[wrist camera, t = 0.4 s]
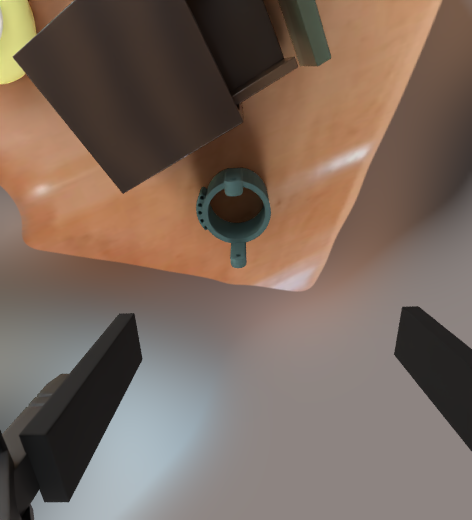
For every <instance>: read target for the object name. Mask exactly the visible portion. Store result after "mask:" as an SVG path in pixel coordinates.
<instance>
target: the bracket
mask: <svg viewBox="0 0 472 520" xmlns="http://www.w3.org/2000/svg"><path fill="white" fill-rule="evenodd" d="M243 187H245V188H248V189H250V190H252V191H254V192H255V193H256V194H257V195H258V196H259V197H260V198H261V199H262V201H263V203H264V205H263V208H262V209H261V211H260V212H259V213H258V215H257V216H255V217H254V218H253V219H251V220H249V221H246V222H242V223H232V222H228V221H225V220H223V219H222V218H220V217H219V216H218V215H216V213H215V212H214V211H213V209H212V207H211V205H210V201H211V199H212V198H213V196H215V195H216V194H217V193H218V192H219V191H221V190H222V189H225V194H226V195H227V196H239V195H241V194H242V193H243ZM196 211H197V217H198V220H199V222H200V224H201V225H202V227H203V228H204V229H205V230H207V229H208V230H209V231H210V232H211V233H212V234H213V235H214V236H215V237H217V238H218V239H220V240H222V241H225V242H229V243H231V256H230V259H231V265H232V267H234V268H242V267H244V266H245V265H246V242H248V241H251V240H253V239H255V238H257V237H258V236H260V235H261V234H262V233H263V232H264V230H265V229H266V227H267V226H268V224H269V221H270V216H271V208H270V203H269V198H268V194H267V189H266V186H265V184H264V182H263V180H262V179H261V178H260V177H259V176H258V175H257V174H256V173H254V172H253V171H251V170H249V169H246V168H228V169H225V170H223V171H221V172H219V173H218V174H217V175H216V176H215V177H214V178H213V179H212V180H211V182H210V184H209V186H208V189H207V188H205V187H204V186H203V187H202V188H201V190H200V193H199V196H198V200H197V204H196Z"/></svg>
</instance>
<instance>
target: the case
mask: <svg viewBox="0 0 472 520" xmlns="http://www.w3.org/2000/svg"><path fill="white" fill-rule="evenodd" d="M13 58H14V60H15V61H16V62H17V63H18V65H19V66H20V67H21V68H22V70H23V71H24V72H25V73H26V74H27V76H28V77H29V78H30V79H31V81H32V82H33V83H34V84H35V86H36V87H37V88H38V89H39V91H40V92H41V93H42V94H43V96H44V97H45V98H46V99H47V100H48V102H49V103H50V104H51V105H52V107H53V108H54V109H55V110H56V112H57V113H58V114H59V115H60V117H61V118H62V119H63V120H64V121H65V123H66V124H67V125H68V126H69V128H70V129H71V130H72V131H73V133H74V134H75V135H76V136H77V138H78V139H79V140H80V141H81V142H82V144H83V145H84V146H85V147H86V149H87V150H88V151H89V152H90V154H91V155H92V156H93V157H94V159H95V160H96V161H97V162H98V163H99V165H100V166H101V167H102V168H103V170H104V171H105V172H106V173H107V175H108V176H109V177H110V178H111V180H112V181H113V182H114V183H115V185H116V186H117V187H118V188H119V189H120V191H121V192H122V193H123V194H124V193H125V192H127V191H129V190H130V189H132V188H134V187H135V186H137V185H139V184H140V183H142V182H144V181H145V180H147V179H149V178H150V177H152V176H154V175H155V174H157V173H159V172H161V171H162V170H164V169H166V168H167V167H169V166H171V165H172V164H174V163H176V162H177V161H179V160H181V159H182V158H184V157H186V156H187V155H189V154H191V153H192V152H194V151H196V150H197V149H199V148H201V147H202V146H204V145H206V144H208V143H209V142H211V141H213V140H214V139H216V138H218V137H219V136H221V135H223V134H224V133H226V132H228V131H229V130H231V129H233V128H234V127H236V126H238V125H239V124H241V123H243V107H242V105H241V103H240V104H238V105H236V104H235V101H234V99H233V97H232V95H231V93H230V91H229V89H228V87H227V85H226V83H225V81H224V79H223V76H222V74H221V72H220V70H219V68H218V66H217V64H216V62H215V60H214V58H213V56H212V54H211V51H210V49H209V47H208V45H207V43H206V41H205V39H204V37H203V35H202V33H201V31H200V29H199V26H198V24H197V22H196V20H195V18H194V16H193V14H192V12H191V10H190V8H189V6H188V4H187V1H186V0H74V1H73V2H72V3H71V4H70V5H69V6H67V7H66V8H65V9H64V10H63V11H62V12H61V13H60V14H59V15H58V16H56V17H55V18H54V19H53V20H52V21H51V22H50V23H49V24H48V25H47V26H46V27H44V28H43V29H42V30H41V31H40V32H39V33H38V34H37V35H36V36H35V37H33V38H32V39H31V40H30V41H29V42H28V43H27V44H26V45H25V46H24V47H22V48H21V49H20V50H19V51H18V52H17V53H16V54H15V55H14V56H13Z"/></svg>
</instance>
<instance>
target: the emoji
mask: <svg viewBox="0 0 472 520" xmlns="http://www.w3.org/2000/svg"><path fill="white" fill-rule="evenodd" d="M36 35H37V32H36V25H35V21H34V17H33V13H32V10H31V7H30V5H29V2H28V0H0V84H8V83H11V82H14V81H16V80H18V79H19V78H21V77H23V76H24V75H25V74H26V73H25V72H24V71H23V70H22V68H21V67H20V66H19V65H18V63H17V62H16V61H15V60H14V58H13V56H14V55H15V54H16V53H17V52H18V51H19V50H20V49H21V48H22V47H24V46H25V45H26V44H27V43H28V42H29V41H30V40H31V39H32V38H33V37H35V36H36Z"/></svg>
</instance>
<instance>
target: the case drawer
mask: <svg viewBox="0 0 472 520" xmlns="http://www.w3.org/2000/svg"><path fill="white" fill-rule="evenodd" d="M186 1H187V4H188V6H189V8H190V10H191V12H192V14H193V16H194V18H195V20H196V22H197V24H198V26H199V29H200V31H201V33H202V35H203V37H204V39H205V41H206V43H207V45H208V47H209V49H210V51H211V54H212V56H213V58H214V60H215V62H216V64H217V66H218V68H219V70H220V72H221V74H222V76H223V79H224V81H225V83H226V85H227V87H228V89H229V91H230V93H231V95H232V97H233V99H234V101H235V104H236V105H238V104H240V103H241V102H243V101H244V100H246V99H248V98H249V97H251V96H252V95H254V94H256V93H257V92H259V91H261V90H262V89H264V88H265V87H267V86H269V85H270V84H272V83H273V82H275V81H277V80H278V79H280V78H282V77H283V76H285V75H286V74H288V73H290V72H291V71H293V70H294V69H296V68H298V65H297V62H296V59H295V57H290V58H284V56H283V54H282V51H281V48H280V45H279V43H278V40H277V37H276V34H275V32H274V29H273V26H272V23H271V21H270V18H269V15H268V12H267V10H266V7H265V4H264V2H263V0H186ZM278 3H279V6H280V8H281V11H282V14H283V17H284V20H285V23H286V26H287V29H288V32H289V35H290V38H291V41H292V44H293V46H294V49H295V52H296V55H297V58H298V61H299V64H300V66H320V65H321V64H323V63H324V62H326V61H328V60H329V59H331V54H330V51H329V47H328V44H327V40H326V37H325V33H324V30H323V26H322V23H321V19H320V16H319V12H318V9H317V5H316V2H315V0H278Z"/></svg>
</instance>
